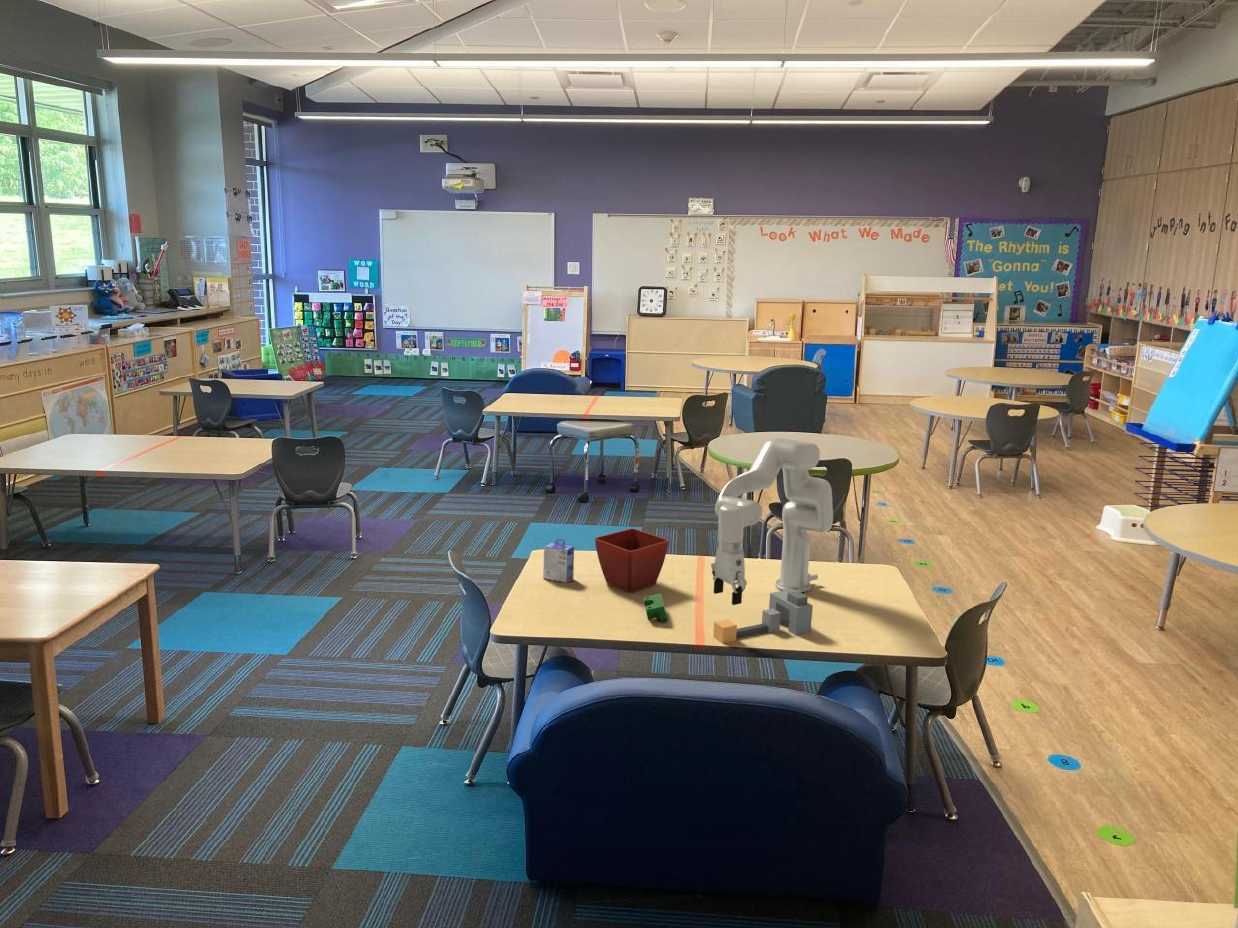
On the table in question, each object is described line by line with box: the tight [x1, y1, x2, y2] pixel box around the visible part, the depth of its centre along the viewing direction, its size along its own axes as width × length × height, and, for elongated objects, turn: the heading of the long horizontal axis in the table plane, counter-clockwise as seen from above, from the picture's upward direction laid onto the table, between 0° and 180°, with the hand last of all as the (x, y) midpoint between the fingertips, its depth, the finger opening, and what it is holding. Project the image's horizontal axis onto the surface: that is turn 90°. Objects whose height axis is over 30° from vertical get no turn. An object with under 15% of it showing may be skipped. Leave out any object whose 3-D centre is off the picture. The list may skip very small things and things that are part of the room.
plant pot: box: [594, 527, 670, 593], centre depth 328 cm, size 19×19×17 cm
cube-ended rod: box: [712, 608, 781, 644], centre depth 290 cm, size 22×5×6 cm, turn 118°
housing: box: [768, 590, 813, 636], centre depth 297 cm, size 6×14×12 cm, turn 28°
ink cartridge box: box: [542, 538, 575, 584], centre depth 331 cm, size 10×6×14 cm, turn 65°
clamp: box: [643, 593, 668, 623], centre depth 302 cm, size 12×6×9 cm, turn 177°
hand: (727, 598), depth 284 cm, fingers open, 9 cm apart
